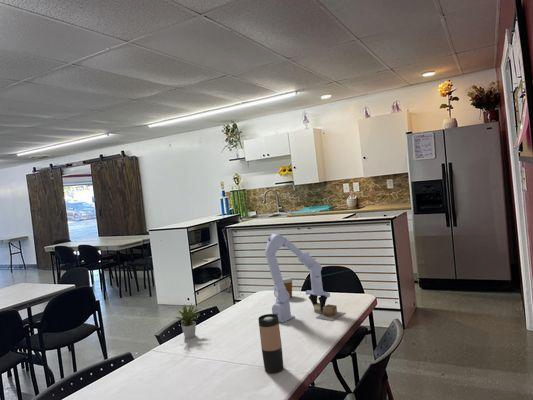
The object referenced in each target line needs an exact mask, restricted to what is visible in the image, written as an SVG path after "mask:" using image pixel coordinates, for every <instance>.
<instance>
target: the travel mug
mask: <svg viewBox="0 0 533 400" xmlns="http://www.w3.org/2000/svg"><path fill="white" fill-rule="evenodd" d="M257 319H258V327H259V329H258V330H259V337H260V338H259V339H260V347H261V355H262V359H263V361H262V362H263V367H264V371H265V373H267V374H269V375H270V374H272V375H273V374H279V373H281V372H283V370H284V358H283V347H282V338H281V331H280V322H279V321H278V316H277V315H276V314H272V313H267V314H263V315H260V316H259V317H258V318H257Z"/></svg>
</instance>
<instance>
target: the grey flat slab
mask: <svg viewBox="0 0 533 400" xmlns="http://www.w3.org/2000/svg"><path fill="white" fill-rule="evenodd" d="M343 314H344V315H346V312H343V311H342V312H341V311H337V315H335V316H333V317H327V316H324V314H323V313H320V315H317V316H315V319H319V320H323V321H328V322H329V321H330V322H333V321H336V319H339V318H340V317H342V316H344V315H343Z"/></svg>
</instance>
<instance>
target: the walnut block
mask: <svg viewBox="0 0 533 400" xmlns="http://www.w3.org/2000/svg"><path fill="white" fill-rule="evenodd" d="M337 307H338V306H337V305H334V304H325V306H324V307H323V312H322V314H324V316H327V317H333V316H335V315H337V312H338V309H337Z"/></svg>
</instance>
